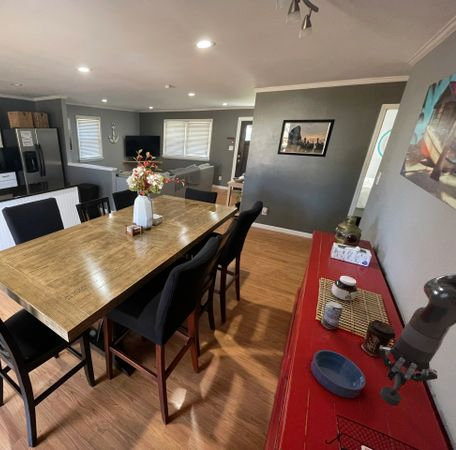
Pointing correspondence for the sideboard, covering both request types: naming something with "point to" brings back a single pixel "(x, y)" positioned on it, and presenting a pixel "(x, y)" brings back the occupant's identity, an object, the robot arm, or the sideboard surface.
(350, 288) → the spread jar
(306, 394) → the sideboard surface
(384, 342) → the coffee cup
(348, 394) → the bowl
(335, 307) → the beverage can
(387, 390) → the door handle
